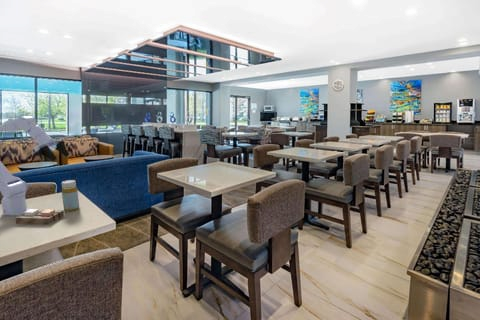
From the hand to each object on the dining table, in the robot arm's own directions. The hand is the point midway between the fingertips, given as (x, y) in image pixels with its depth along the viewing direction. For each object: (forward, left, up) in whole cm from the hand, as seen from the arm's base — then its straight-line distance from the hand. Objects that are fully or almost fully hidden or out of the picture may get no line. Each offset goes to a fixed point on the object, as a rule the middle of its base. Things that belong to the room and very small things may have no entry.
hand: (61, 157), depth 134 cm
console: (-9, -6, -29) cm, 31 cm away
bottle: (-3, +8, -29) cm, 30 cm away
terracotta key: (-5, -6, -28) cm, 29 cm away
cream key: (-13, -6, -28) cm, 31 cm away
